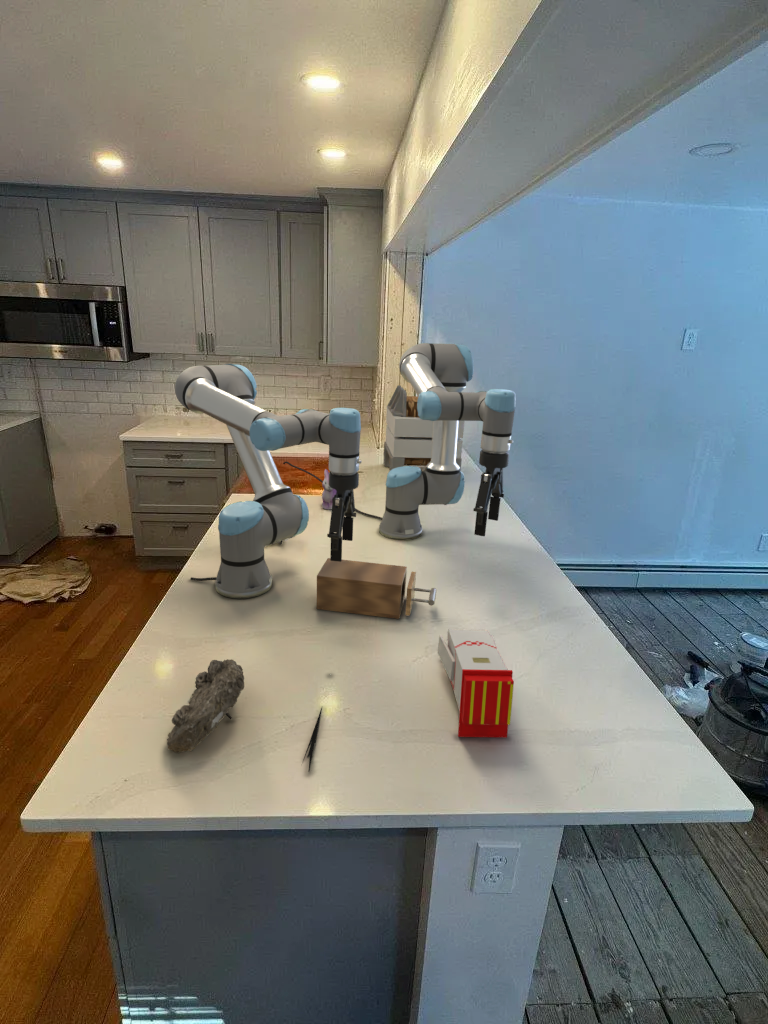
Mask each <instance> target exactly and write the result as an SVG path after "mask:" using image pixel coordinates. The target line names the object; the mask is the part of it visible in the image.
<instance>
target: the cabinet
mask: <svg viewBox="0 0 768 1024" xmlns="http://www.w3.org/2000/svg"><path fill="white" fill-rule="evenodd" d="M407 570H408V567H407V566H406V565H405V566H404V565H395V564H387V563H386V564H385V563H378V562H368V561H359V560H351V559H350V560H349V559H342V561H341V562H339V561H330V557H327V559H326V561H325V562H324V563H323V565H322V567H321V569H320V570H319V571H318V573H317V575H316V609H317V610H321V611H322V610H323V611H331V612H339V613H347V614H353V615H354V614H356V615H364V616H372V617H380V618H387V619H396V620H400V618H401V614H402V610H403V608H404V604H405V601H406V590H407V587H406V586H407V574H408V573H407V572H408V571H407ZM405 574H406V576H405ZM404 577H405V591H404V599H403V603H402V606H401V590H402V584H403V581H404ZM400 606H401V610H400Z"/></svg>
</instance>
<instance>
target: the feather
mask: <svg viewBox="0 0 768 1024" xmlns="http://www.w3.org/2000/svg"><path fill="white" fill-rule="evenodd" d="M329 675H330V676H331V675H332V674H331V673H330V674H329ZM322 710H323V707H321V708H320V710H319V713H318V716H317V719H316V723H315V725H314V728H313V731H312V733H311V737H310V739H309V742H308V745H307V748H306V751H305V754H304V757H303V760H302V763H301V767H302V765H303V763H304V761H305V758H308V759H309V760H308V762H307V763H308V764H307V766H308V771H310V770H311V766H312V765H311V764H312V760H313V757H315V756H314V755H315V751H316V749H315V746H317V739H318V733H319V729H320V722H321V717H322V712H323V711H322ZM313 754H314V755H313ZM306 755H307V757H306Z"/></svg>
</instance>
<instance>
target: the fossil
mask: <svg viewBox="0 0 768 1024" xmlns="http://www.w3.org/2000/svg"><path fill="white" fill-rule="evenodd" d="M243 670H244V669H243V667H242V665H240V664H237V662H236V661H235V660H234V659H232V658H231V659H227V658H226V659H224V660H223V661H222V660H217V659H212V660H211V661H210V663H209V665H208V666H207V671H201V672H199V673H198V674H197V675H196V676H195V680H194V684H195V685H194V687H195V689H194V690H193V693H192V694H191V697H190V698H189V700H188V704H184V705H182V706H181V707H180V709H177V710H176V711H175V713H174V715H173V716H172V718H171V723H172V724H173V727H172V730H171V731H170V732H168V734H167V738H166V741H167V742H166V745H167V749H168V750H169V751H173V752H174V753H176V754H178V753H182V752H188V751H189V752H192V751H193V750H195V748H196V747H197V746H199V744H200V743H201V742H203V741H204V740H205V739H206V738H207V737H208V736H209V735H210V734H211V733H212V732H214V730H215V729H217V727H218V726H219V724H220V722H221V721H222V720H223V719H224V718H225V716H226V717H227V719H229V720H233V717H232V715H230V714H229V710H230V709H231V708H234V706H235V704H236V703H237V702H238V699H239V697H240V695H241V693H242V691H243V690H245V689H244V688H245V675H244V671H243Z"/></svg>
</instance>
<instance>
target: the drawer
mask: <svg viewBox="0 0 768 1024" xmlns="http://www.w3.org/2000/svg"><path fill="white" fill-rule="evenodd" d="M405 576H406V577H407V573H406V574H405ZM416 577H417V571H411V572H410V576H409V580H408V584H407V587H406V589H405V577H404V581H403V584H402V590H401V606H402V603H403V599H404V591H405V592H406V595H405V613H404V614H405V616H408V617H410V616H411V613H412V609H413V605H414V602H416V603H425V604H428V605H429V606H432V607H433V606H434V605H435V603H436V598H437V597H436V596H437V591H438V590H437V589H436V588H435V587H431V588H430V589H427V588H419V587H416V579H417V578H416ZM415 592H422V593H428V594H429V596H428V599H423V598H415V594H416V593H415ZM401 606H400V610H401Z"/></svg>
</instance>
